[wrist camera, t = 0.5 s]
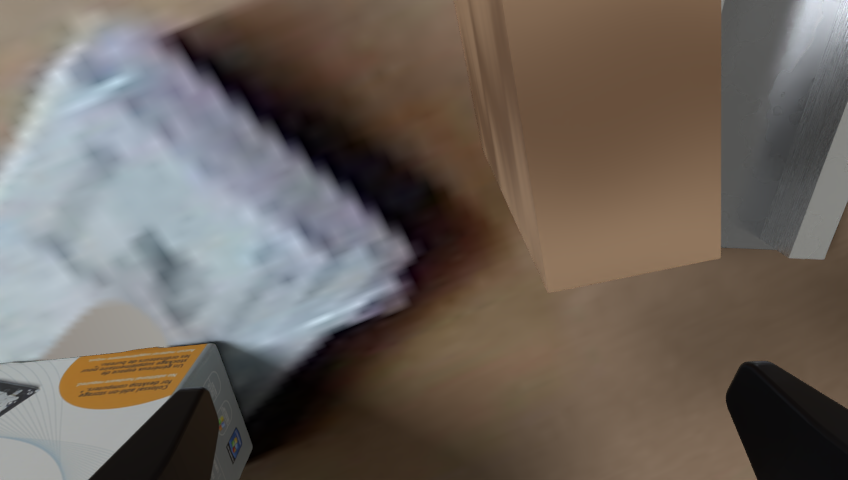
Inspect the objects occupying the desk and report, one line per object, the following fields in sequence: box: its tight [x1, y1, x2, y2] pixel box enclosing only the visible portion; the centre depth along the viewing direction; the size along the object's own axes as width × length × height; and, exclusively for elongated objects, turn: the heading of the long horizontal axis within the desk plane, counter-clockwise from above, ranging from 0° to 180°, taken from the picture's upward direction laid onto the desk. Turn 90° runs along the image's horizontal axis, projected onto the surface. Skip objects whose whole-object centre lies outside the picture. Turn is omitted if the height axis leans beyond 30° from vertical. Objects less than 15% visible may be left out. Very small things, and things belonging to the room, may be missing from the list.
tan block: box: [454, 0, 721, 293], centre depth 15 cm, size 6×4×12 cm, turn 13°
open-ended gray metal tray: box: [721, 0, 848, 260], centre depth 20 cm, size 14×10×3 cm
